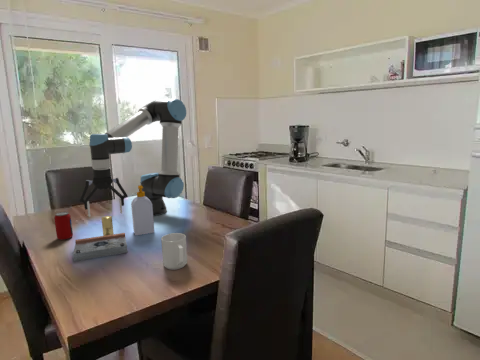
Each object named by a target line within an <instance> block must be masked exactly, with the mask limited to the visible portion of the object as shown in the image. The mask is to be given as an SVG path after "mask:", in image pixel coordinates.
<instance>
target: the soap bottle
mask: <svg viewBox="0 0 480 360" xmlns="http://www.w3.org/2000/svg"><path fill="white" fill-rule="evenodd" d="M137 188H138V191H137V192H136V197H134V198H133V199H132V201H131V204H130V205H131V216H132V229H133V232H134V235H135V236H141V235H142V234H143V235H148V233H149V234H153V233H155V222H154V216H153V207H152V203H151V201H150V200H149V199H148V198H147V197H145V192H143V191H142V188H143V186H141V184H140V185H138V186H137Z"/></svg>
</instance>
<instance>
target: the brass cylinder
mask: <svg viewBox="0 0 480 360" xmlns="http://www.w3.org/2000/svg"><path fill="white" fill-rule="evenodd" d="M100 220H101V227H102V236H106V235H113V234H114V226H113V225H114V223H113V216H111V215H106V216H105V215H103V216H101V219H100Z"/></svg>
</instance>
